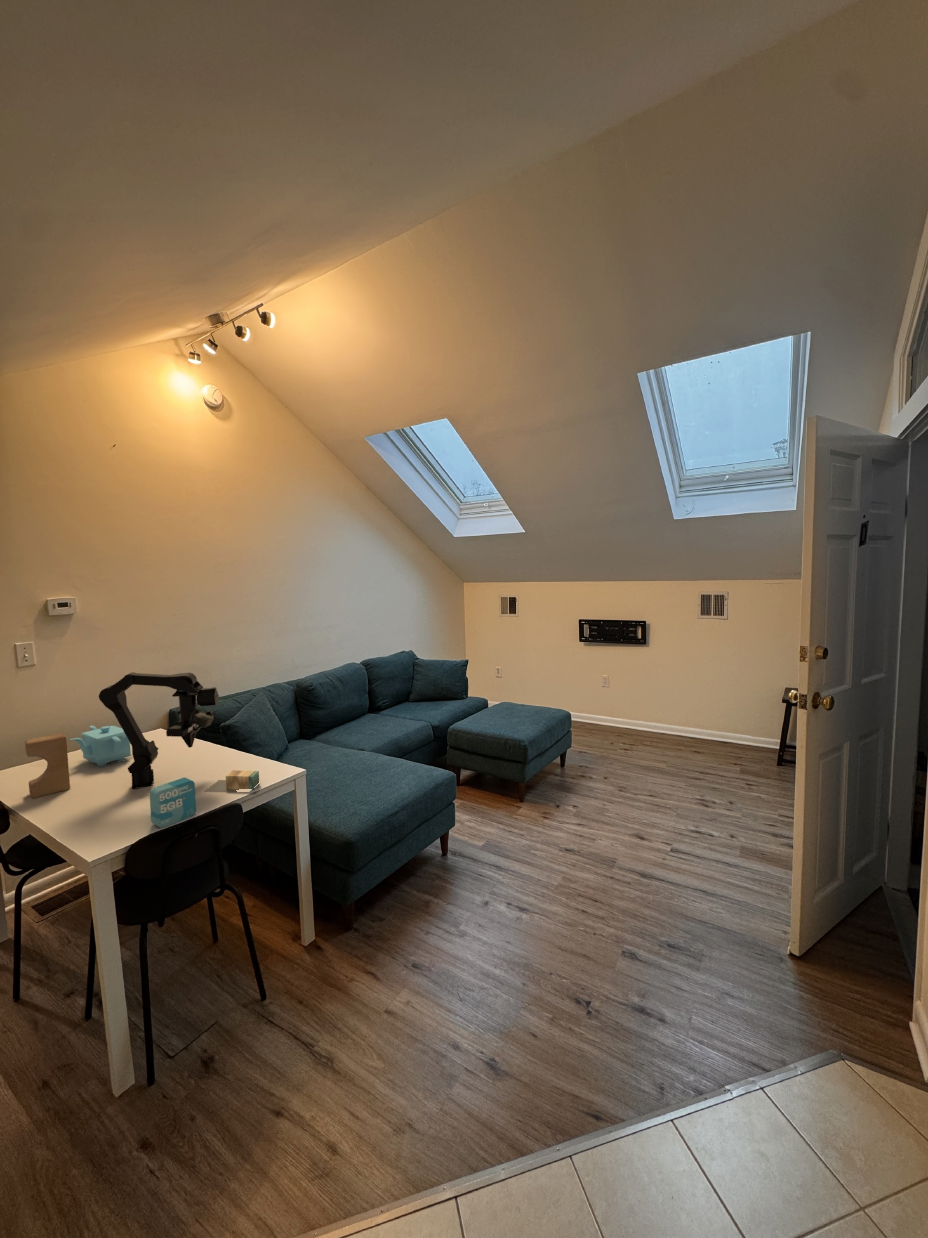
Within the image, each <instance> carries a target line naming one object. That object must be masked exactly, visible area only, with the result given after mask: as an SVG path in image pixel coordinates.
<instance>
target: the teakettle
mask: <svg viewBox="0 0 928 1238" xmlns="http://www.w3.org/2000/svg"><path fill="white" fill-rule="evenodd" d="M136 723H137V722H136ZM137 725H139V724H138V723H137ZM89 729H90V730H89V731H84V732H81V738H80V737H74V738H70V739H69V741H75V742H76V743H77V744H78V747H79V748H80V751H81V752H82V757H83V759H85V760H87V761H89V764H95V765H97V766H96V767H97V768H102V767H106V766H107V763H111V762H115V761H116V762H123V761H125V760H126V758H128V757H131V756H132V754H131V752H132V749H131V744H130V742H129V740H128V738H127V736H126V735H125V733H124V731H123V729H122V727H118V726H116V725H106V726H105V725H104V726H101V727H99V728H97V727H96V726H95V725H90V726H89Z"/></svg>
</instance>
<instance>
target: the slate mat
mask: <svg viewBox="0 0 928 1238" xmlns="http://www.w3.org/2000/svg"><path fill="white" fill-rule="evenodd" d="M236 790H239V789H226V779H218V780H217V781H216V782H214V783H213V784H212V785H210V786H209V787H207V788H206V789H205V790H204V791H203V792H204V793H206V792H208V793H234V794H235V793H236V792H237V791H236Z"/></svg>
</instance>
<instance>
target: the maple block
mask: <svg viewBox="0 0 928 1238" xmlns="http://www.w3.org/2000/svg"><path fill="white" fill-rule="evenodd" d="M225 780H226V789H253V788H254V787H255V786H256V785H257V784H258V783H259V781H260V771H258V770H236V769H235V770H231V771H230V772H229V773H227V774H226V775H225Z"/></svg>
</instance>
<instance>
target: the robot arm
mask: <svg viewBox="0 0 928 1238" xmlns="http://www.w3.org/2000/svg"><path fill="white" fill-rule="evenodd" d="M133 685H134V686H151V687H152V686H153V687H167V688H170V689H173V690H176V691H175V692H174V693H173V694H172V696H171V697H173V698H174V697H178V707H179V708H178V709H179V710H176V714H177V715H179V721H177V725H173V726H171V727H168V729H167V730H166V732H165V735H166V737H176V738H180V737H181V739H182V740H183V741H184V743H185V744H186V745H187V747H188V748H189V749H190V748H193V746H194V745H193V744H194V742H195V738H196V735H197V732H199V730H201V728H203V729H204V728H207V727H209V726H211V725H212V722H213V721H214V720H215V714H214V711H213V710H209V711H207V712H201V709H200V708H199V707H197V705H198V706H200V707H213V706H218V704H219V700H220V698H219V697H220V696H219V692H218V690H217V687H216V686H215V687H205V688H204V686H203V685H202V684H201V683H200V682H199V681H198V679H197V676H196V674H194V673H193V672H182V673H175V674H158V673H157V674H156V673H141V672H138V673H137V672H134V671H133V672H129V673H128V674H126V675H124V676H123V677H122V678H121V679H119V680H118V681H117V682H116V683H114V684H111V685H109V686H106V687H105V688H104V689H101V691H100V692H99V694H98V699H99V701H100V703H102V704H103V706H104V707H105V708H107V709H108V710H109V711H111V713H113V715H114V717H115V718H116V720H117V722H118V723H119V726H120V728H122V729H123V731H124V733H125V735H126V736H127V738H128V740H129V742H130V746H131V752H132V754H131V756H132V757H133V762H132V763H131V764H130V765H129V766H128V767H127V770H128V773H129V774H131V789H133V790H134V789H140V788H145V787H149V786H150V787H151V786H153V785H154V783H153V782H154V781H155V777H154V769H153V768H152V764H153V762H155V760H156V759H157V758H158V755H159V748H158V747H157V746H156V743H155V741H154V740H150V741H149V740H148V739H146V738H145V736H144V734H143V732H142V730H141V728H140V727H139V724H137V722H136V719H135V718H134V715H133V714H132V712H131V711H130V709H129V707H128V702H127V701H128V700H127V695H126V691H127V690H128V689H129V688H131V687H132V686H133Z"/></svg>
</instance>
